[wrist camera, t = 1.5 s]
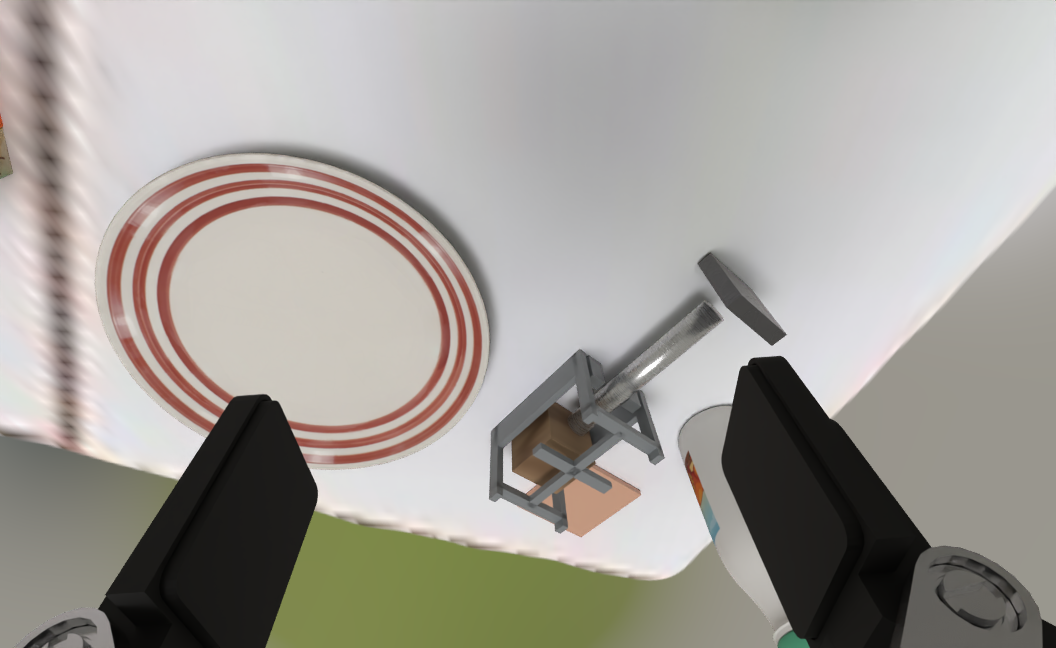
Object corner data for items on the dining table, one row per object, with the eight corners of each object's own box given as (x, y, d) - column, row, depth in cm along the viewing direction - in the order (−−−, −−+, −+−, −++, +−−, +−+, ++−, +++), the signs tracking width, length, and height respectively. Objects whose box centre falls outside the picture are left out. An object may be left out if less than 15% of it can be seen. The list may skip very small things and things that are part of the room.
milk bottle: (683, 403, 47) (781, 639, 30) (767, 401, 47) (910, 634, 30) (670, 461, 51) (749, 695, 35) (747, 459, 51) (862, 690, 35)
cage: (579, 349, 43) (592, 413, 37) (643, 392, 46) (664, 458, 40) (491, 430, 48) (489, 499, 42) (553, 465, 51) (560, 533, 45)
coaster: (575, 453, 50) (576, 458, 49) (639, 490, 53) (640, 495, 53) (517, 501, 54) (517, 506, 53) (580, 532, 57) (580, 537, 57)
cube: (546, 396, 46) (551, 438, 42) (587, 421, 48) (595, 463, 44) (511, 428, 48) (512, 471, 44) (552, 451, 50) (556, 494, 46)
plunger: (710, 252, 38) (741, 294, 33) (751, 289, 40) (786, 334, 35) (552, 395, 45) (558, 447, 40) (593, 420, 47) (603, 473, 42)
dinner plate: (135, 61, 30) (97, 70, 27) (550, 245, 38) (554, 266, 35) (112, 386, 44) (85, 414, 41) (421, 473, 51) (417, 502, 48)
